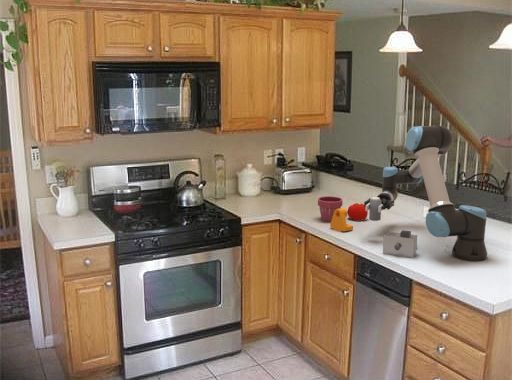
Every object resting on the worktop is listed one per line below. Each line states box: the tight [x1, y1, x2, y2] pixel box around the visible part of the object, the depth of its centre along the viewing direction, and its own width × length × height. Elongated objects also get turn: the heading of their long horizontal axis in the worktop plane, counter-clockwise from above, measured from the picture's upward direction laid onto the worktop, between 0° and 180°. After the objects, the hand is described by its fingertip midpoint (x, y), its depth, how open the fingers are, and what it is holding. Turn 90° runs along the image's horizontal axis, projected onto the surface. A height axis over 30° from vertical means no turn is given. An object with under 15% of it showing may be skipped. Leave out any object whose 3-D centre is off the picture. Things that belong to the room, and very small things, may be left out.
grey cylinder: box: [368, 196, 382, 222], centre depth 264 cm, size 6×6×11 cm
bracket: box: [329, 207, 354, 232], centre depth 288 cm, size 11×7×12 cm, turn 36°
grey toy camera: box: [382, 229, 418, 259], centre depth 251 cm, size 14×20×11 cm
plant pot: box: [317, 195, 343, 223], centre depth 306 cm, size 14×14×13 cm
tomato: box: [347, 202, 369, 222], centre depth 308 cm, size 11×12×9 cm
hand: (372, 208), depth 260 cm, fingers closed on grey cylinder, 6 cm apart
